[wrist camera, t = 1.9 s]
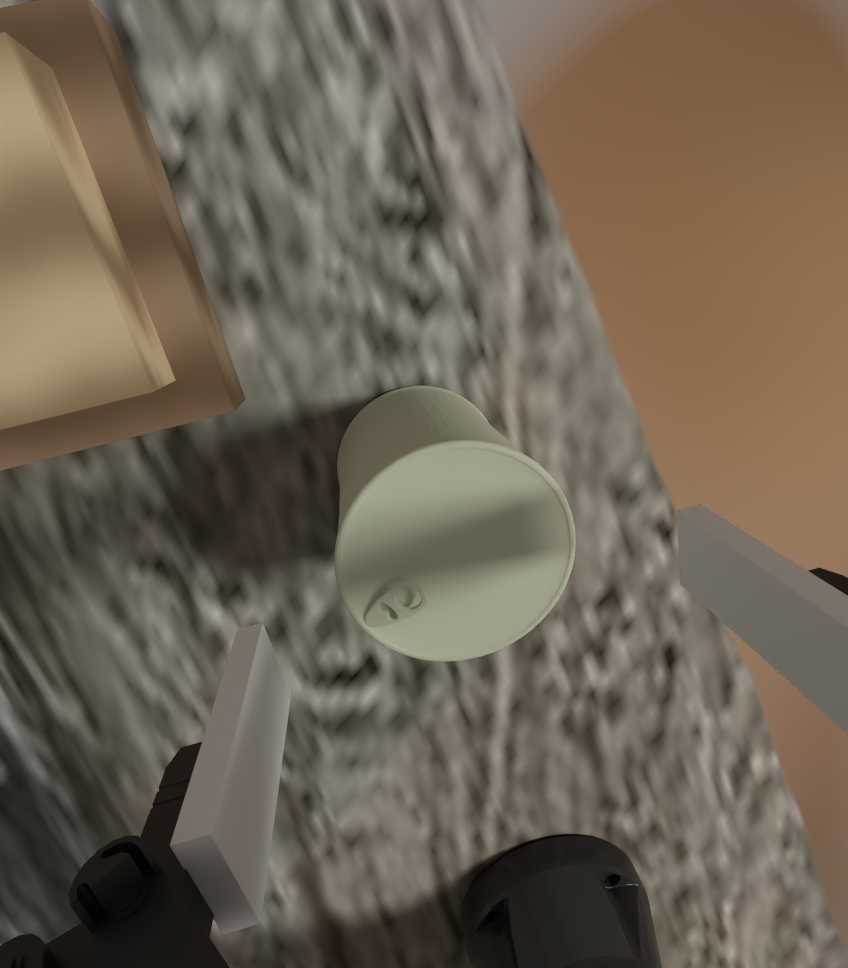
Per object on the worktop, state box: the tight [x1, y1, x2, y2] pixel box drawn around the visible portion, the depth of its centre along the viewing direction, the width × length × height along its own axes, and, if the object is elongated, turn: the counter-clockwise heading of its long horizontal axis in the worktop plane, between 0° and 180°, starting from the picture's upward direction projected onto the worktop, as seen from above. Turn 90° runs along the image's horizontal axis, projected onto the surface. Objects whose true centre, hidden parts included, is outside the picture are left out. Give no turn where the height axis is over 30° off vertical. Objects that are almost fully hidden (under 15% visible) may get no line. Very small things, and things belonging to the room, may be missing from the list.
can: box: [334, 386, 576, 661], centre depth 25 cm, size 9×9×12 cm
